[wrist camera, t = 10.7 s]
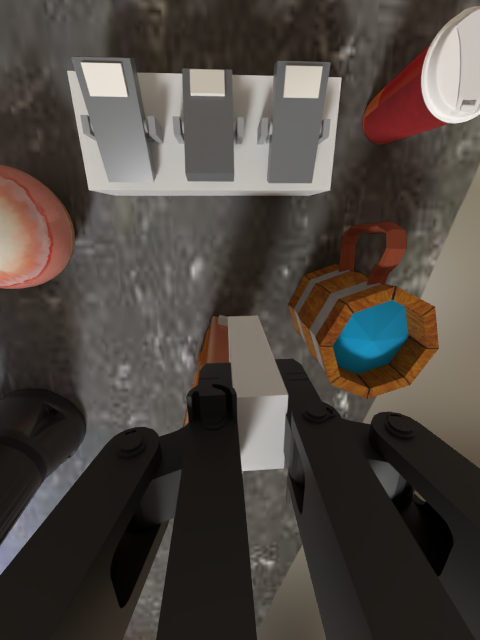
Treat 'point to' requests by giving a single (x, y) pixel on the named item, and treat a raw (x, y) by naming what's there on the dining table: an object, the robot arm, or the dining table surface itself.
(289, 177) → the rocker
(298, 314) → the mug
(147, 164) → the rocker
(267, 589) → the dining table surface
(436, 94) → the paper cup
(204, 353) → the control panel
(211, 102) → the rocker
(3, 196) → the vase
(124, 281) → the dining table surface
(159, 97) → the console
